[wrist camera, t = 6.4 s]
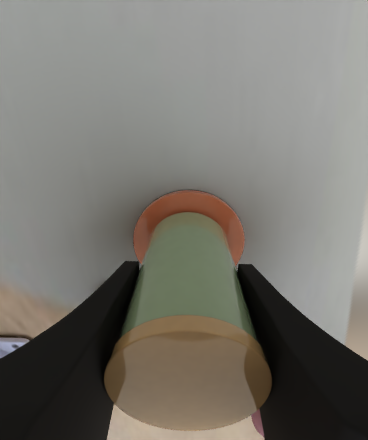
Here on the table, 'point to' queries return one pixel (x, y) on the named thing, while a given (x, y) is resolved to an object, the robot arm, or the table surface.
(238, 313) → the spice jar
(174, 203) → the coaster
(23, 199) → the table surface
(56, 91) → the table surface
